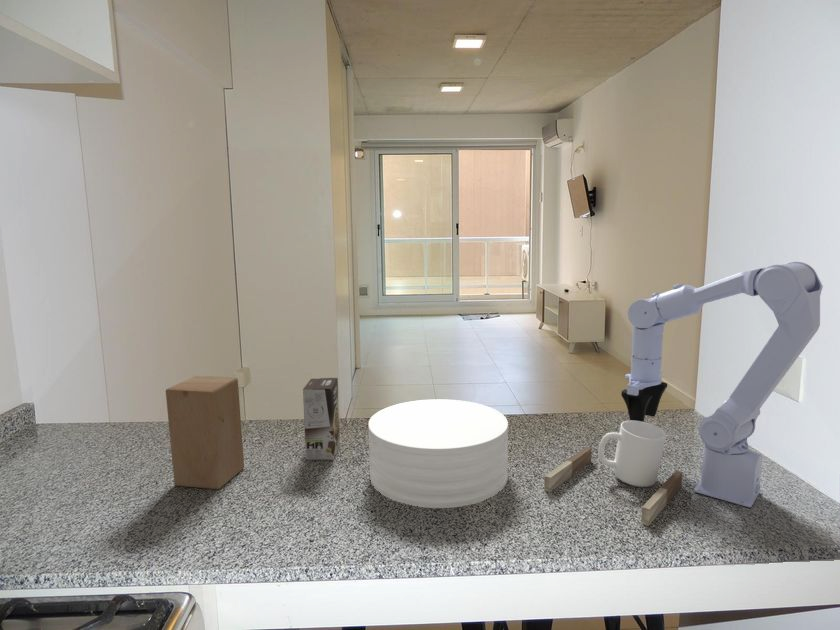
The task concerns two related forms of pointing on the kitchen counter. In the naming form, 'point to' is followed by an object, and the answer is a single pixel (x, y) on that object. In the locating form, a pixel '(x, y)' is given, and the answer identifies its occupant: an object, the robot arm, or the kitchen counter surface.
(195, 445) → the wooden block
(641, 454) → the cup
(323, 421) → the coffee box
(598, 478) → the kitchen counter surface
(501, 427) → the plate stack
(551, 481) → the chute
